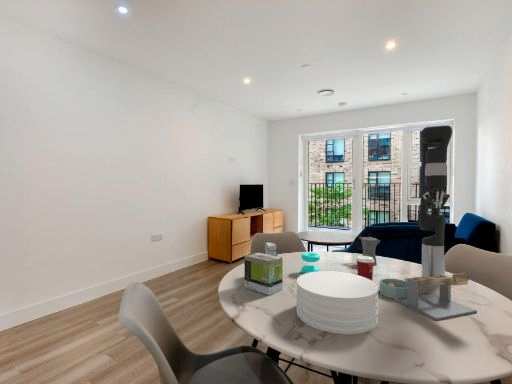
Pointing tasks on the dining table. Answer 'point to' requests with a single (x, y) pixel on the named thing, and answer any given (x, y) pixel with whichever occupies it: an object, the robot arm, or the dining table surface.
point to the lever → (443, 280)
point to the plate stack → (337, 302)
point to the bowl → (393, 288)
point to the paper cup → (365, 266)
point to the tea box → (263, 273)
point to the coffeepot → (368, 246)
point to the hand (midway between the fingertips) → (435, 217)
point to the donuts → (310, 258)
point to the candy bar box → (270, 249)
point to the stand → (434, 302)
